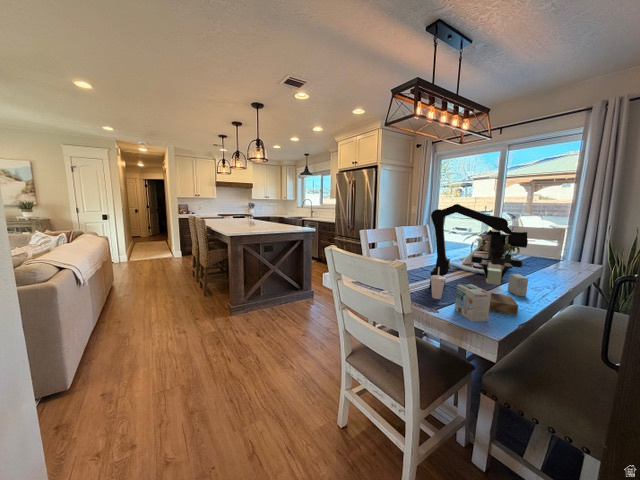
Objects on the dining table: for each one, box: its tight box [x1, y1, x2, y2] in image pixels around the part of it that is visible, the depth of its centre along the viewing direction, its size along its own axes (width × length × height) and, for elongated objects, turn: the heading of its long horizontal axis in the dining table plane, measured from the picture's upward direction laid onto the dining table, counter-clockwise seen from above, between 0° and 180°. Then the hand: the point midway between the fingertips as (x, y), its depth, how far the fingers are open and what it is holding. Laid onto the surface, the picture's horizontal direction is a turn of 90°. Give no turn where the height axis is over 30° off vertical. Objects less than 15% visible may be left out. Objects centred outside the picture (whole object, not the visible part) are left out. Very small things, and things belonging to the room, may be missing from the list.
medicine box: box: [507, 273, 529, 297], centre depth 124 cm, size 8×4×9 cm, turn 168°
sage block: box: [485, 267, 502, 286], centre depth 117 cm, size 5×5×6 cm
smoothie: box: [430, 267, 447, 300], centre depth 116 cm, size 6×6×14 cm
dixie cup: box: [487, 262, 502, 270], centre depth 151 cm, size 8×8×10 cm
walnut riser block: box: [489, 292, 519, 316], centre depth 107 cm, size 12×12×4 cm
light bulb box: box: [454, 283, 492, 322], centre depth 98 cm, size 11×7×11 cm, turn 5°
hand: (493, 279), depth 118 cm, fingers closed on sage block, 5 cm apart
